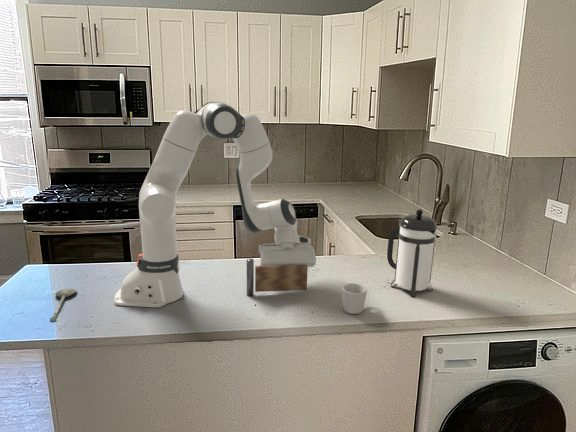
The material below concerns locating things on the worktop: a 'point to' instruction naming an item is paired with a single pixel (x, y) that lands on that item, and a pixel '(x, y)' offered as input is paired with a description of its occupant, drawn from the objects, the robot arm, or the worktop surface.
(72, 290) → the soupspoon
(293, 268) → the gate
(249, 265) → the gate post
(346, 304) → the cup
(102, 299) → the worktop surface
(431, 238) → the coffee press
